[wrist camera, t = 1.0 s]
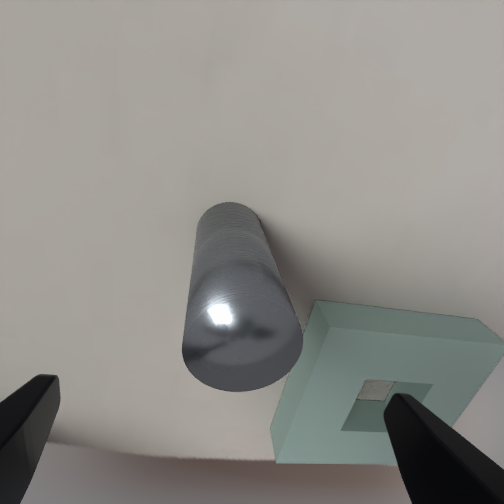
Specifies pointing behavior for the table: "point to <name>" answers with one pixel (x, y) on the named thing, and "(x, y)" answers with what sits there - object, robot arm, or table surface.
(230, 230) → the peg
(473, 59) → the table surface
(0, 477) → the robot arm
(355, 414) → the socket block
